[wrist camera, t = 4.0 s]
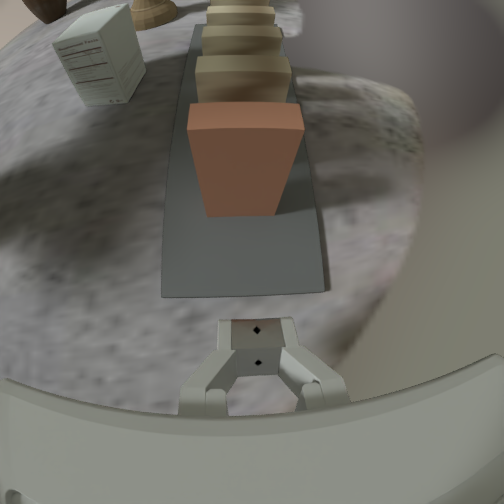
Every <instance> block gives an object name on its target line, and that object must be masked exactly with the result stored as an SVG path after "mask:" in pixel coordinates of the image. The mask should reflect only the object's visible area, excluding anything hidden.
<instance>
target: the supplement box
mask: <svg viewBox="0 0 504 504" xmlns="http://www.w3.org/2000/svg"><path fill="white" fill-rule="evenodd" d="M52 45H53V47H54V49H55V51H56V53H57V55H58V57H59V59H60V61H61V63H62V65H63V67H64V69H65V70H66V72H67V74H68V76H69V78H70V80H71V81H72V83H73V85H74V87H75V89H76V90H77V92H78V94H79V96H80V98H81V99H82V101H83V103H84V104H85V106H88V107H89V106H99V105H111V104H124V103H128V102H129V100H130V98H131V96H132V95H133V93H134V91H135V89H136V87H137V86H138V84H139V82H140V81H141V79H142V77H143V76H144V74H145V73H146V71H147V70H146V67H145V64H144V60H143V57H142V53H141V50H140V46H139V43H138V39H137V35H136V31H135V28H134V24H133V20H132V16H131V12H130V8H129V4H120V5H116V6H111V7H108V8H104V9H100V10H97V11H93V12H90V13H87V14H84V15H82V16H81V17H79V18H78V19H77V20H76V21H75V22H74V23H73V24H72V25H71V26H70V27H69V28H68V29H66V30H65V31H64V32H63V33H62V34H61V35H60V36H59V37H58V38H57V39H56V40H55V41H54V42H53V43H52Z"/></svg>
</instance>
